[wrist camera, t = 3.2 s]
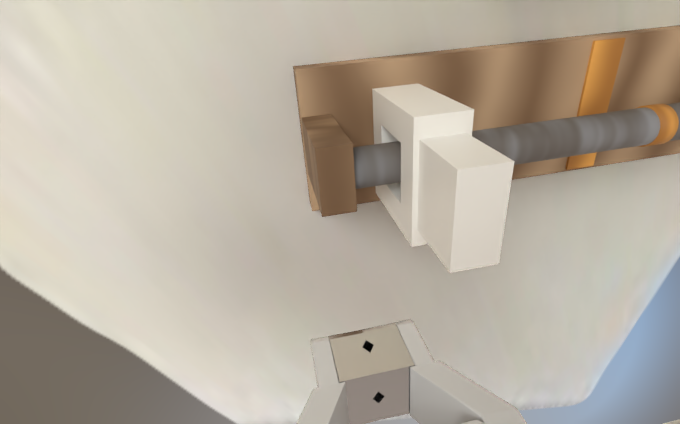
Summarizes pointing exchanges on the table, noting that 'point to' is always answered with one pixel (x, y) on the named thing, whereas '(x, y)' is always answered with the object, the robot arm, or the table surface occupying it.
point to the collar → (443, 177)
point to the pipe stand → (498, 107)
